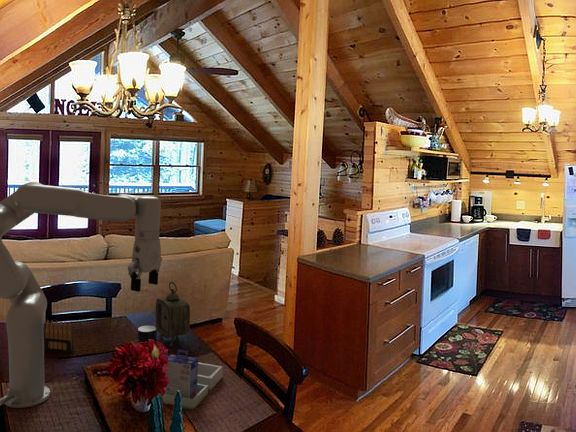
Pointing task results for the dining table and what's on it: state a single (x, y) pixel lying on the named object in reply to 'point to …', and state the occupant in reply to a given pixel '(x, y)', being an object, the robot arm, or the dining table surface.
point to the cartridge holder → (209, 374)
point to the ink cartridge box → (182, 375)
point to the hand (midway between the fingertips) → (144, 287)
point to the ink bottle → (147, 333)
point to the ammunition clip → (58, 338)
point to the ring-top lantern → (172, 316)
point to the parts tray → (186, 402)
